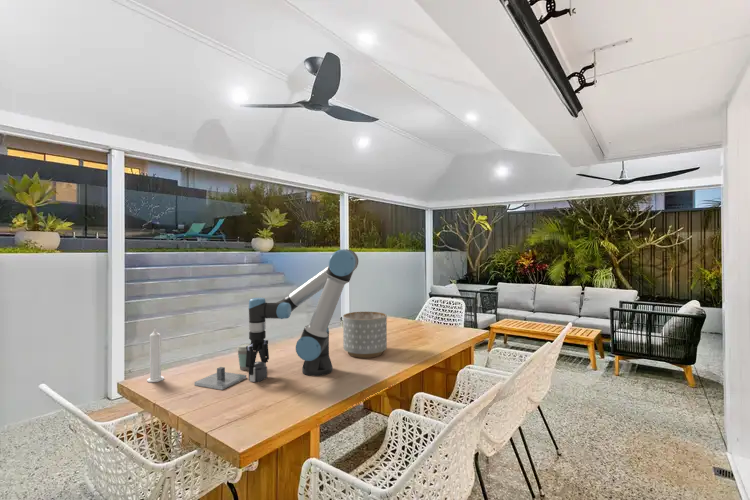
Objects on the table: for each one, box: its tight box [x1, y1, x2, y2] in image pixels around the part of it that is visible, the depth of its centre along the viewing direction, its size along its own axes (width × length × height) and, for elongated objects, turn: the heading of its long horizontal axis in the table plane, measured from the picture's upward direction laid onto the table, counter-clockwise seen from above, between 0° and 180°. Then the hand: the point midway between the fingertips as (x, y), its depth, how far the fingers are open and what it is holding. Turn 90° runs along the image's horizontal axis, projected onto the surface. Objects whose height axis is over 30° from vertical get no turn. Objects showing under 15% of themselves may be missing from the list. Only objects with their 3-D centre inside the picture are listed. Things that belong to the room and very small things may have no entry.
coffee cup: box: [236, 343, 254, 371], centre depth 203 cm, size 8×8×12 cm
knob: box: [248, 361, 268, 383], centre depth 187 cm, size 6×6×8 cm
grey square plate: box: [193, 366, 247, 391], centre depth 183 cm, size 16×16×6 cm
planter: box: [342, 311, 388, 359], centre depth 230 cm, size 26×26×22 cm
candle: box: [146, 327, 165, 383], centre depth 186 cm, size 7×7×25 cm
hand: (257, 378), depth 187 cm, fingers open, 7 cm apart
